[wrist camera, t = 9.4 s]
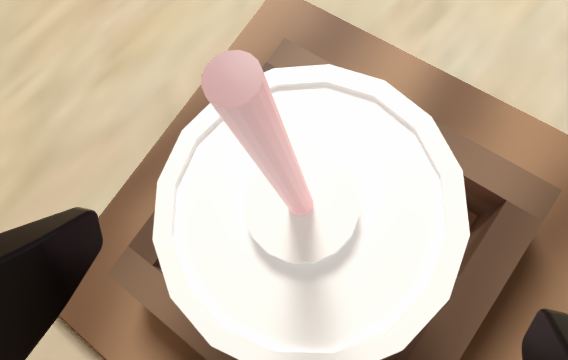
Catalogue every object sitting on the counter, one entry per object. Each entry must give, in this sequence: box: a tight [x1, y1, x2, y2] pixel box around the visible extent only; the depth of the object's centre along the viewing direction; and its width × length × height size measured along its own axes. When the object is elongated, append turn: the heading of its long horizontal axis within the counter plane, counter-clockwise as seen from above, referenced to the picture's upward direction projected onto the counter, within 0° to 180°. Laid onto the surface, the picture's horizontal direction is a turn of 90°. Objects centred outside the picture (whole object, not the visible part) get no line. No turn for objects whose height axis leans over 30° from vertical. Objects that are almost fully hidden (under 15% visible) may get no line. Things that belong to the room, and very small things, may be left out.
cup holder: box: [60, 0, 568, 360], centre depth 16 cm, size 18×18×4 cm
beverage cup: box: [152, 50, 470, 360], centre depth 10 cm, size 6×6×14 cm
